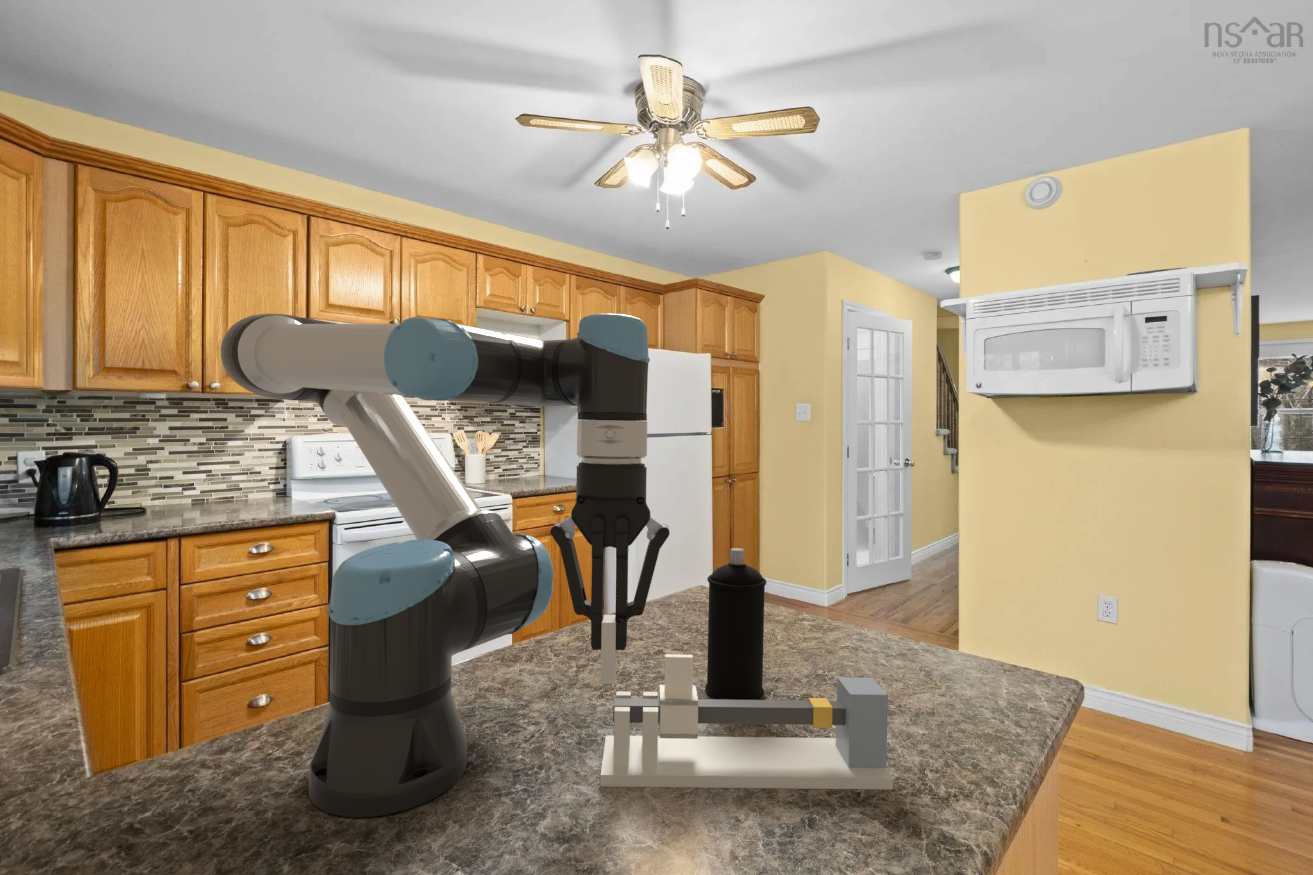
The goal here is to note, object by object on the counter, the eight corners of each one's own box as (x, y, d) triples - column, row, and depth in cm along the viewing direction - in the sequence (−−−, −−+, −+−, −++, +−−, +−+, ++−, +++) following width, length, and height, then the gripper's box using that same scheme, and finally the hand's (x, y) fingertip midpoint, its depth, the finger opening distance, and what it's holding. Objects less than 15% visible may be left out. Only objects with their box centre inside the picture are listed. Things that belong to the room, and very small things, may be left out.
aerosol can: (763, 707, 80) (766, 557, 80) (701, 701, 82) (704, 553, 82) (764, 682, 89) (767, 545, 88) (708, 677, 90) (711, 542, 90)
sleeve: (659, 738, 64) (661, 662, 64) (658, 720, 68) (660, 648, 68) (697, 738, 64) (699, 663, 64) (694, 720, 68) (696, 649, 68)
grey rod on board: (600, 786, 62) (602, 698, 62) (605, 745, 70) (607, 667, 70) (892, 789, 63) (894, 702, 62) (864, 748, 71) (866, 671, 70)
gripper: (545, 461, 62) (542, 692, 62) (673, 463, 62) (669, 694, 62) (556, 458, 69) (553, 664, 70) (671, 460, 69) (667, 665, 70)
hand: (608, 678), depth 66 cm, fingers closed
